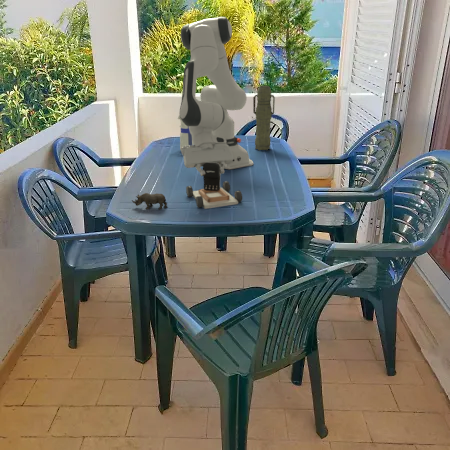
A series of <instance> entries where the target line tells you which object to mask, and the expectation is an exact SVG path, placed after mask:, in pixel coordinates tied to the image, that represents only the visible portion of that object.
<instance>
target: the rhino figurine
mask: <svg viewBox="0 0 450 450" xmlns="http://www.w3.org/2000/svg"><path fill="white" fill-rule="evenodd" d="M135 197H136V199H134V200H133V199H131V201H132V203H133V204H135V206H136V207H138V206H140V205H142V204H143V203H145V205H146V208H145V209H146V210H150V209H151V208H152V207H154V205H156V204H159V206H158V210H163V208H164V209H166V208H168V203H167V200H166V197H165V195H164V194H162V193H154V194H151V193H148V192H144V193H142V194H141V195H140V194H137V196H135Z"/></svg>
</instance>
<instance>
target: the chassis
mask: <svg viewBox="0 0 450 450" xmlns="http://www.w3.org/2000/svg"><path fill="white" fill-rule="evenodd" d="M230 184H231V183H230V182H229V181H228V180H225V181H223V182H222V186H220V190H219V191H206V190H204V188H201V189H198V190H194V189H193V186H192V185H188V186H186V189H185V193H186V196H187V198H190V197H192V198H194V199H195V204H196V207H197V208H203V209H205V210H206V209H212V208H214V209H215V208H220V207H226V206H232V205H238V204H239V203H240V202H243V194H242V193H243V192H242V191H241V190H235V191H234V195H231V194H230V193H229V192H230V190H231V185H230Z"/></svg>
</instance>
